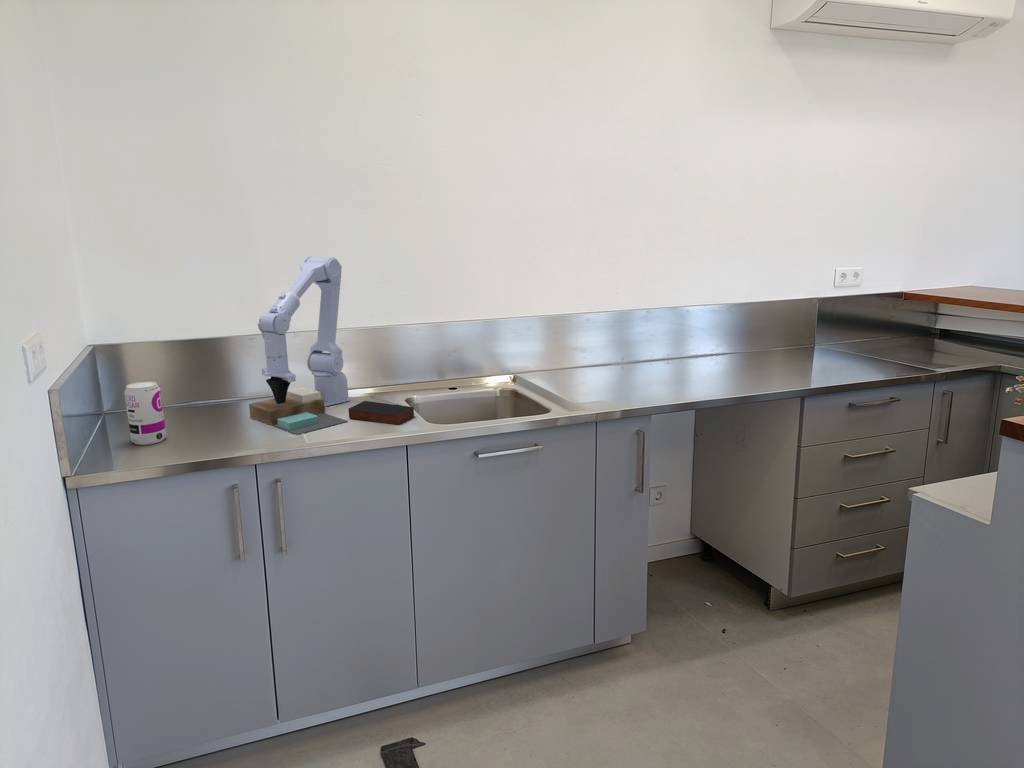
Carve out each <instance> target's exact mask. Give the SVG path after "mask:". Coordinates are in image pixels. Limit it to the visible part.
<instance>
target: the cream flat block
mask: <svg viewBox="0 0 1024 768" xmlns="http://www.w3.org/2000/svg"><path fill="white" fill-rule="evenodd" d="M286 397H287V398H290V399H293V400H296V401H299V402H302V403H304V402H308V401H312V400H317V399H321V392H319V391H316V390H315V389H312V388H308V387H306V386H302V387H298V388H291V389H288V391H287V396H286Z"/></svg>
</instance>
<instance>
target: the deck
mask: <svg viewBox="0 0 1024 768" xmlns="http://www.w3.org/2000/svg"><path fill="white" fill-rule="evenodd" d="M325 407H326V406H325ZM325 407H324V399H317V400H312V401H308V402H304V403H302V402H299V401H296V400H293V399H290V398H287V397H286V402H285V403H282V404H277V403H276V400H275V398H270V399H266V400H260V401H256V402H252V403H248V409H249V417H250V418H251V419H252V420H256V421H258V422H262V423H264V424H266V425H270V426H272V427H273V425H277V424H278V421H277V419H280V418H284V417H288V416H292V415H297V414H301V413H305V412H307V413H310V414H313V415H318V414H322V413H325V414H326V411H325V410H326V408H325Z"/></svg>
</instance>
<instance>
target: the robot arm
mask: <svg viewBox="0 0 1024 768" xmlns="http://www.w3.org/2000/svg"><path fill="white" fill-rule="evenodd" d="M342 269H343V268H342V265H341V263H340V262H339V260H338V259H337V257H332V256H331V257H322V256H321V257H320V256H319V257H318V256H317V257H316V256H307V257H306V258H304V260H303V262H302V263H301V264H300V272H299V274H298V275H297V277H296V279H295V281H294V282H293V284H292V286H291V287H290V289H289V290H288V291H286V292H282V293H279V295H278V298H277V300H275V303H273V305H272V307H270V309H269V311H268V312H264V313H263V314H262V315H261V316H260V318H259V319H258V323H257V328H258V330H259V332H261V337H262V339H263V340H264V351H265V360H266V363H265V364H266V366H265V367H261V374H262V375H263V376H264V377H270V378H267V379H265V382H266V383H267V385H268V386H269V388H270V390H271V392H272V394H273V397H274V398H275V400H276V403H277V404H282V403H285V402H286V396H287V391H288V390H289V387H290V385H291V383H292V382H296V381H297V380H296V374H294V373H293V372H291V370H290V369H289V360H288V359H289V358H288V356H289V355H288V347H287V337H286V336H287V335H286V333H287V332H288V331H289V330H290V325H291V321H292V317H293V316H294V315H295V313H296V312H297V310H298V309H299V307H300V305H301V301H300V298H302V296H303V295H304V294H305V293H306V292H307V290H308V289H309V288H310V287H311V285H312V284H313V283H314V284H315V285H317V287H319V289H320V291H321V293H320V300H319V301H320V303H319V317H318V327H317V328H318V329H317V338H316V342H315V343H314V344H312V345H311V346H310V348H309V353H308V356H307V358H306V364H307V369H308V370H309V371H310V372H311V375H313V381H314V390H316V391H319V392H321V399H324V407H328V406H329V407H330V406H333V405H337V404H341V403H345V402H350V401H351V399H350V398H349V389H348V388H349V386H348V377H347V376H346V374H345V373H344V372H342V370H343V367H344V359H343V349H341V347H339V345H337V343H336V342H337V341H336V338H337V330H338V317H339V316H338V315H339V305H340V303H339V302H340V294H341V293H340V290H341V281H342ZM274 398H273V399H274Z"/></svg>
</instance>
